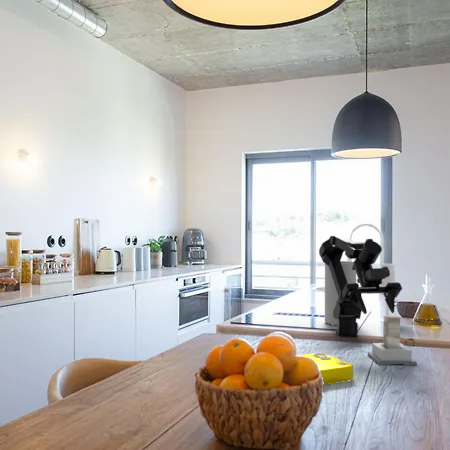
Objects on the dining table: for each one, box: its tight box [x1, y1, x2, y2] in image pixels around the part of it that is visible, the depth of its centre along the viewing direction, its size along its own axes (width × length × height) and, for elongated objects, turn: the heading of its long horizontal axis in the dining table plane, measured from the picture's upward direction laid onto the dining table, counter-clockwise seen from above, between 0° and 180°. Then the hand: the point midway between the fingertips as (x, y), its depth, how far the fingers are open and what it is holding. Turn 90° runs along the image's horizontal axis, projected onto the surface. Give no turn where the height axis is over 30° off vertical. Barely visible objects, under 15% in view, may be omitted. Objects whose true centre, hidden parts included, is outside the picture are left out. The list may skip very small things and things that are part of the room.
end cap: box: [367, 342, 418, 366], centre depth 152 cm, size 11×11×4 cm
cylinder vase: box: [324, 260, 357, 326], centre depth 208 cm, size 12×12×25 cm
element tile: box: [296, 352, 354, 386], centre depth 136 cm, size 15×15×5 cm
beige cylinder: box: [382, 315, 401, 349], centre depth 152 cm, size 4×4×12 cm
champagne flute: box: [379, 263, 396, 323], centre depth 213 cm, size 7×7×24 cm
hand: (379, 312), depth 160 cm, fingers open, 9 cm apart
